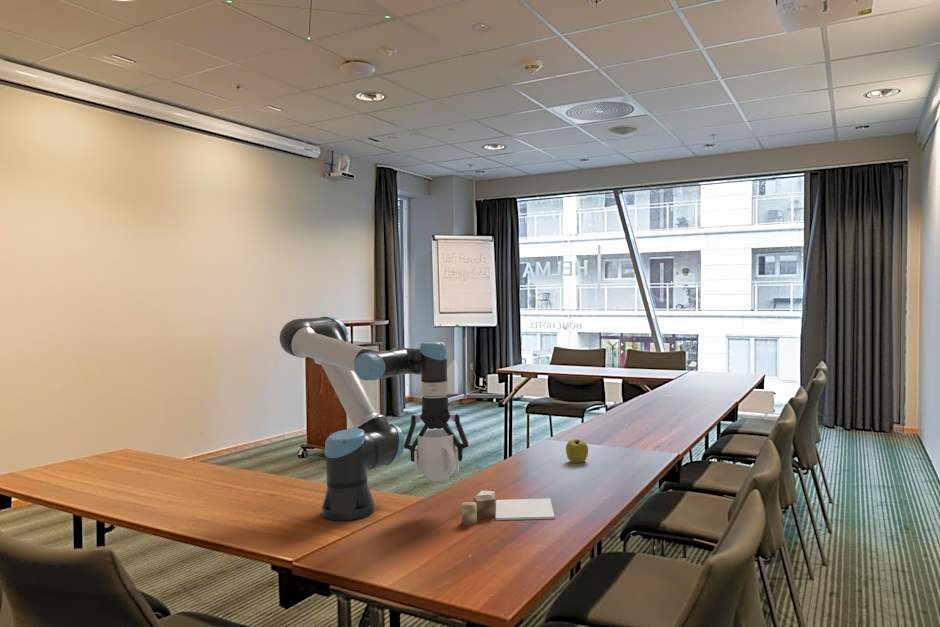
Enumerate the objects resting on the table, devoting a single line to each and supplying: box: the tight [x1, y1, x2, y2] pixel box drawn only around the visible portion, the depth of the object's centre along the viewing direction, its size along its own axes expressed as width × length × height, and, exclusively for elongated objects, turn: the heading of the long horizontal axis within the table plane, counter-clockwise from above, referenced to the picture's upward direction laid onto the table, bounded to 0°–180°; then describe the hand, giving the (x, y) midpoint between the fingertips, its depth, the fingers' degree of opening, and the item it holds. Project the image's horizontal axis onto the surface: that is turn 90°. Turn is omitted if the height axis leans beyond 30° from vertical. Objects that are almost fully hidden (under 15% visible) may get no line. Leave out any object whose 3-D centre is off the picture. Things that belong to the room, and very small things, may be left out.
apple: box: [565, 436, 589, 464], centre depth 234 cm, size 8×8×10 cm
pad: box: [495, 497, 555, 521], centre depth 184 cm, size 16×16×1 cm
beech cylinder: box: [461, 501, 478, 526], centre depth 175 cm, size 4×4×5 cm
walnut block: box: [473, 494, 496, 520], centre depth 181 cm, size 5×5×5 cm
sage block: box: [476, 490, 496, 500], centre depth 188 cm, size 4×6×4 cm, turn 161°
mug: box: [416, 429, 457, 482], centre depth 184 cm, size 15×11×13 cm
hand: (437, 472), depth 185 cm, fingers closed on mug, 11 cm apart
